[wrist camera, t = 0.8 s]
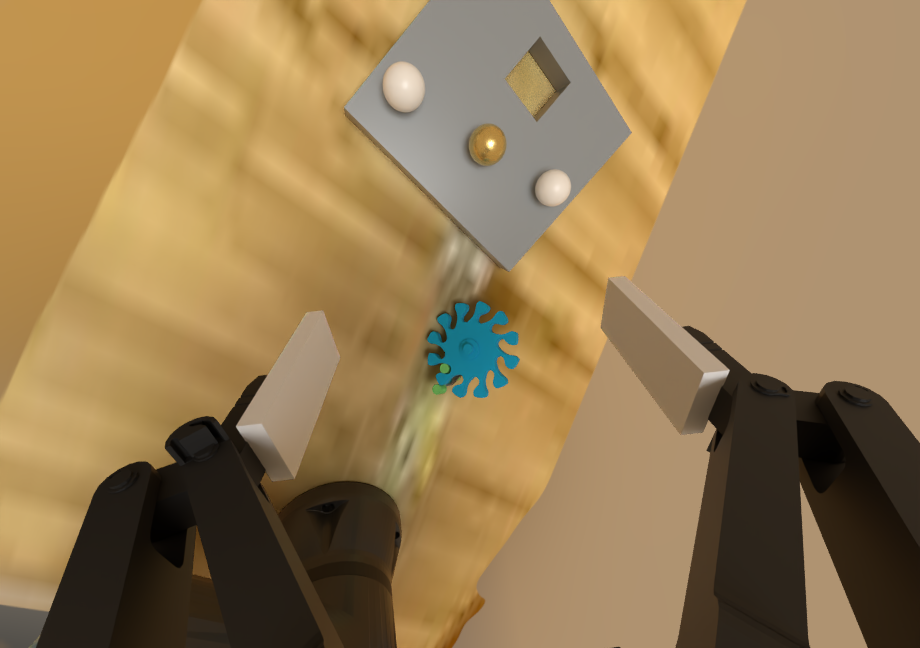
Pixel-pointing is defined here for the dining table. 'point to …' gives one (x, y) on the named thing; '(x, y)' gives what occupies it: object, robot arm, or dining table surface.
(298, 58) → the dining table surface
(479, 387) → the gear
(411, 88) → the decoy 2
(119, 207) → the dining table surface
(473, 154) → the ball
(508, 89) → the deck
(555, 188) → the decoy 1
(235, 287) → the dining table surface
